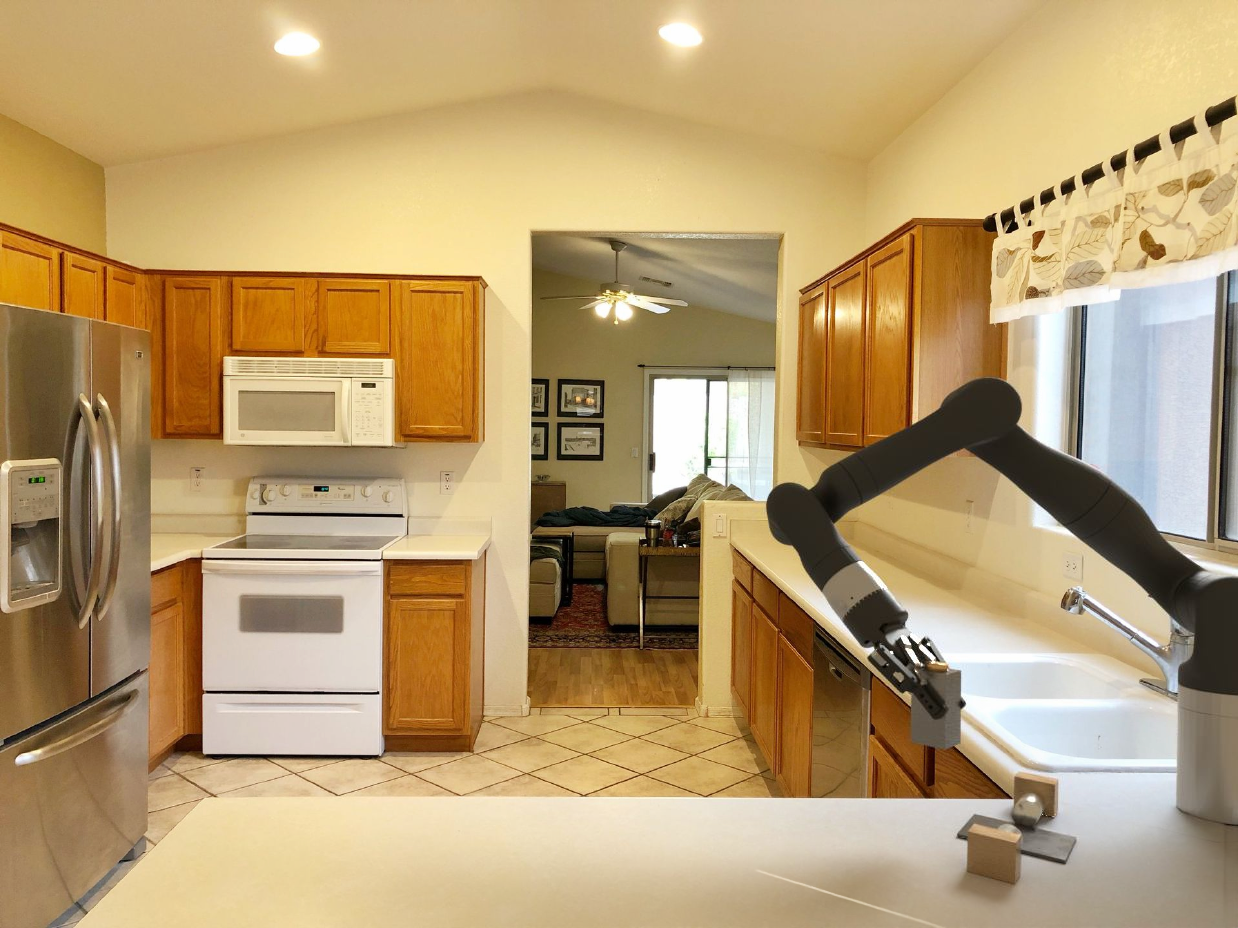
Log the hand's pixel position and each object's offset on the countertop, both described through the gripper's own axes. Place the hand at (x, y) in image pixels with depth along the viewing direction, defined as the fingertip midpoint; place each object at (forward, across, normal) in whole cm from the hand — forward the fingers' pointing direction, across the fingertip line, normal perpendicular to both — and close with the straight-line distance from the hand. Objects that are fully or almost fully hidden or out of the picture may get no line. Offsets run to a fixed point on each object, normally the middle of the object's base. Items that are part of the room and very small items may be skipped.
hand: (951, 711), depth 106 cm
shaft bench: (+15, +7, +7) cm, 18 cm away
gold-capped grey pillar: (+2, 0, +4) cm, 5 cm away
